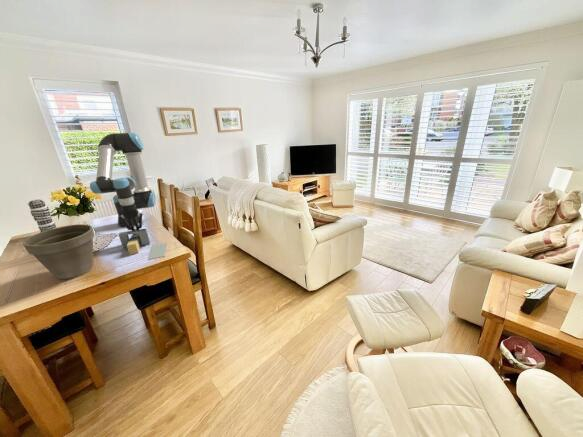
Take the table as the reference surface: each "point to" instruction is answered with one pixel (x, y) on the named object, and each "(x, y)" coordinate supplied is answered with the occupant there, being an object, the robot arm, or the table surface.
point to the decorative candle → (41, 215)
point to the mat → (158, 251)
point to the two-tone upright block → (134, 244)
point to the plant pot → (64, 250)
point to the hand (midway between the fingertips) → (138, 238)
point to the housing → (142, 232)
